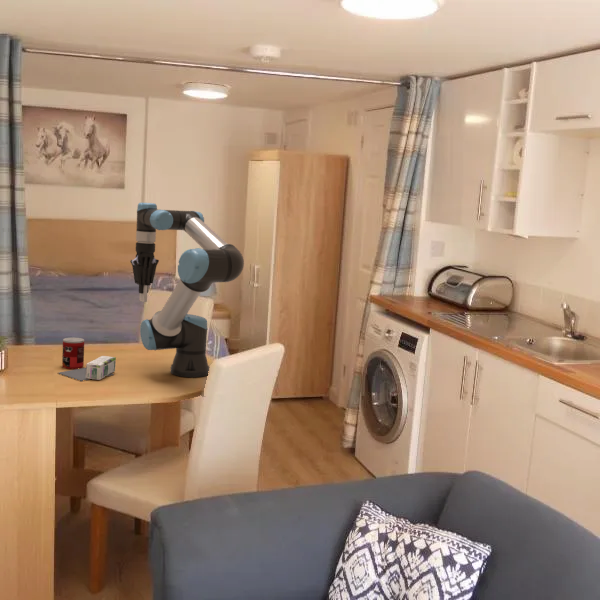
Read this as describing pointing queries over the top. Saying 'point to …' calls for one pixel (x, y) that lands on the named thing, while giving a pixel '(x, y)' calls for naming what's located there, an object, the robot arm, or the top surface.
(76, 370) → the mat
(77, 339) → the canned food
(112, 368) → the syrup box
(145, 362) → the top surface
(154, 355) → the top surface
